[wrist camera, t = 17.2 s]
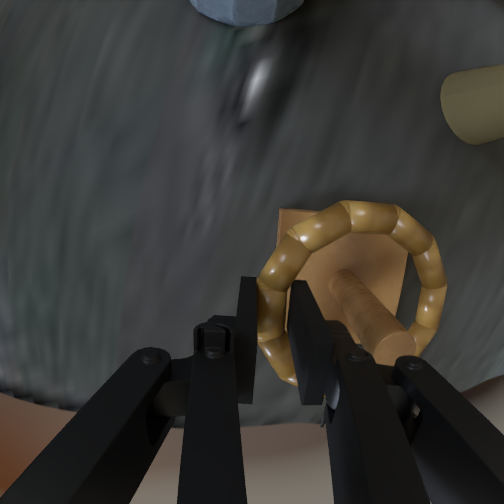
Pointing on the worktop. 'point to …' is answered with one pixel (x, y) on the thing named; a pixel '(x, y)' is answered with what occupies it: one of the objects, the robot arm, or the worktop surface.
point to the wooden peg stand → (357, 287)
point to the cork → (475, 104)
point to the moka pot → (246, 10)
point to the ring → (322, 234)
